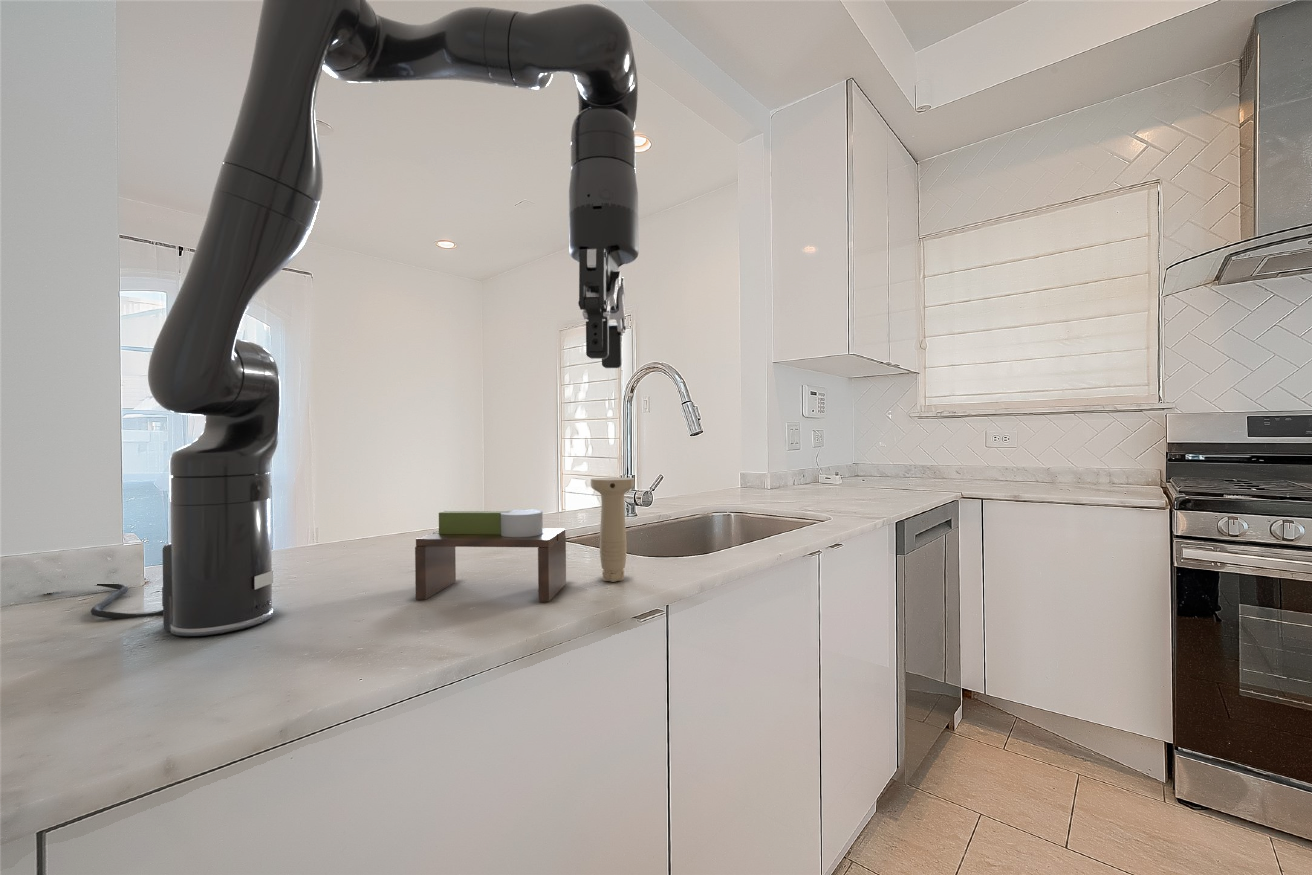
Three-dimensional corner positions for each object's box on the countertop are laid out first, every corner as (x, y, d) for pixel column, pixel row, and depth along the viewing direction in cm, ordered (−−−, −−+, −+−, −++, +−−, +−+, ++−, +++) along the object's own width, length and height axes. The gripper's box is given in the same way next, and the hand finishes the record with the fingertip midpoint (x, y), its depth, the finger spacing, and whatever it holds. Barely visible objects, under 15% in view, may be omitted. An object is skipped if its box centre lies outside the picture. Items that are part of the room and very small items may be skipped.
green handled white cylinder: (431, 536, 75) (431, 514, 75) (450, 529, 81) (450, 509, 81) (535, 537, 74) (535, 515, 74) (547, 530, 80) (547, 509, 80)
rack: (415, 599, 74) (414, 539, 74) (446, 581, 83) (446, 527, 83) (548, 602, 72) (548, 540, 72) (566, 583, 81) (565, 528, 81)
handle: (635, 583, 81) (634, 479, 81) (590, 584, 80) (590, 480, 80) (634, 575, 86) (633, 477, 86) (592, 576, 85) (591, 477, 85)
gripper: (584, 238, 68) (585, 371, 68) (552, 187, 54) (553, 355, 54) (645, 236, 68) (646, 370, 68) (629, 183, 53) (630, 353, 53)
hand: (605, 363), depth 61 cm, fingers open, 8 cm apart
